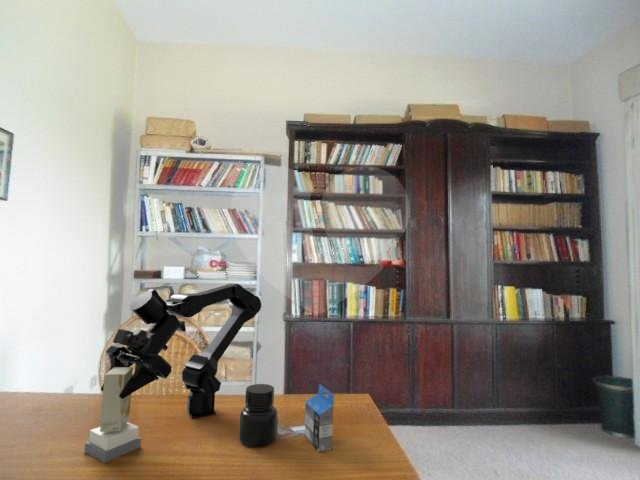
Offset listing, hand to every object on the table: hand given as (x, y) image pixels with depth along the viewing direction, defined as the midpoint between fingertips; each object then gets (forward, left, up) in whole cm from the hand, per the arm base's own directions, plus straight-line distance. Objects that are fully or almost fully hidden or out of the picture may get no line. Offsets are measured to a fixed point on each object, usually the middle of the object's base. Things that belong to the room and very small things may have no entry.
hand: (111, 394), depth 81 cm
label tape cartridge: (-43, +18, -13) cm, 48 cm away
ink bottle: (-31, +10, -12) cm, 35 cm away
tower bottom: (-1, -1, -13) cm, 13 cm away
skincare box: (-1, -1, -8) cm, 8 cm away
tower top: (-1, -1, -10) cm, 10 cm away
